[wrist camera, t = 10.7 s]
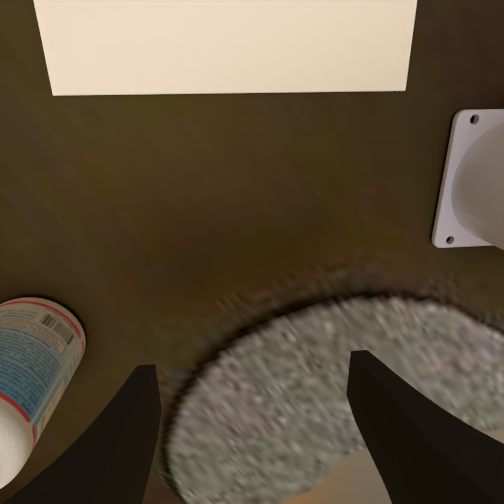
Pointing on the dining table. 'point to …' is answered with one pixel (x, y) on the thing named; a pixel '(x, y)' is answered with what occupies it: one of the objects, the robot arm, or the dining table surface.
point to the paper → (225, 45)
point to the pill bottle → (32, 373)
